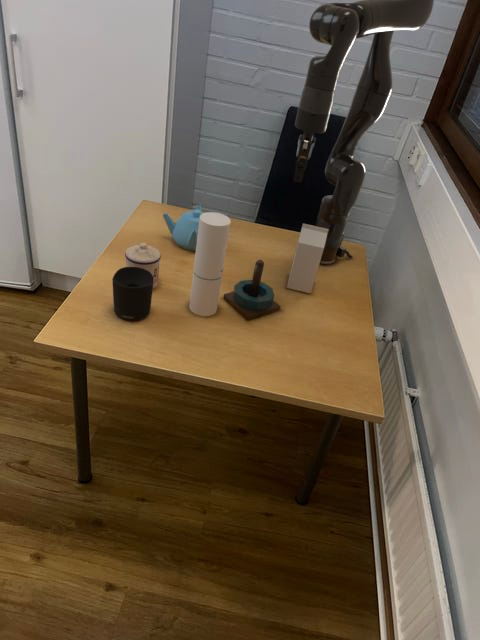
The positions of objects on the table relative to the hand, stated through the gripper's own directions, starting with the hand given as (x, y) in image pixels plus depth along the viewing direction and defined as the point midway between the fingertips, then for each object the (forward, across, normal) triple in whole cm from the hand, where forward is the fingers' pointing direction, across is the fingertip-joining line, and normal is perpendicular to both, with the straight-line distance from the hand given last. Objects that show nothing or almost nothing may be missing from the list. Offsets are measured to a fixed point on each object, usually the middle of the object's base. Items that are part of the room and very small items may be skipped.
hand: (298, 176), depth 118 cm
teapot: (+32, -13, -28) cm, 45 cm away
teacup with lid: (+32, +14, -35) cm, 50 cm away
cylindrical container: (+32, +21, -16) cm, 41 cm away
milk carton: (+32, -2, +8) cm, 33 cm away
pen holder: (+32, +29, -32) cm, 54 cm away
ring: (+31, +13, -4) cm, 34 cm away
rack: (+32, +14, -4) cm, 35 cm away
